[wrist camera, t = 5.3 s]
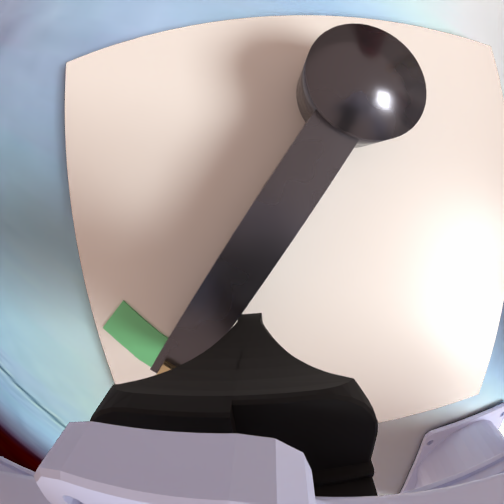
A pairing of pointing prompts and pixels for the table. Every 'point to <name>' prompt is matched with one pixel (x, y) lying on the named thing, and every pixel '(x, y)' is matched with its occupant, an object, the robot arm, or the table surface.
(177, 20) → the table surface
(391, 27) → the dial board
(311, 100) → the lever
